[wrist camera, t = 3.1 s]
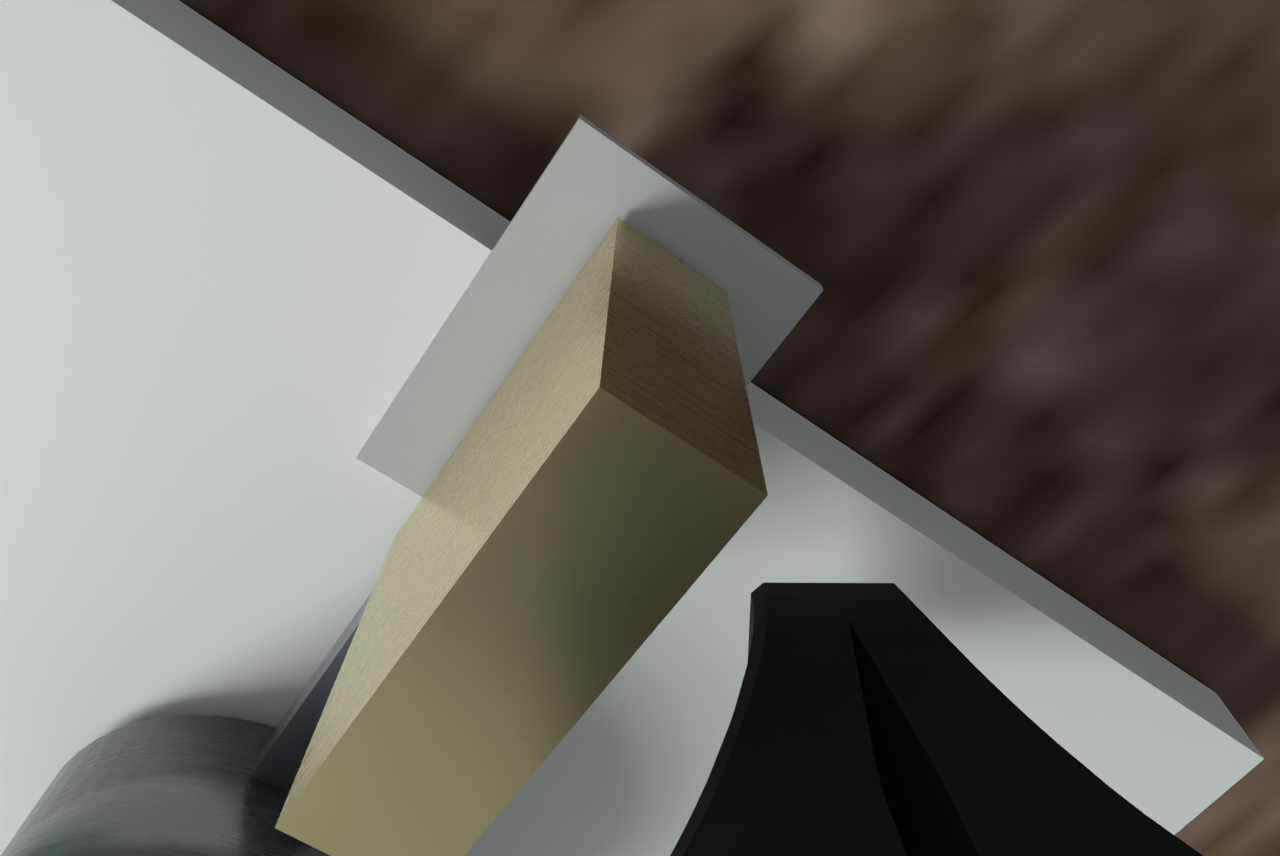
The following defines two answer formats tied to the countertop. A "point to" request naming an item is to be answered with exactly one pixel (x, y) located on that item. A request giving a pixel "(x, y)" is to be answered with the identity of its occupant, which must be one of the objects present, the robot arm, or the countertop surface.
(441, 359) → the dial board
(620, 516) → the grey and tan piece
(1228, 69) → the countertop surface
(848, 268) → the countertop surface
